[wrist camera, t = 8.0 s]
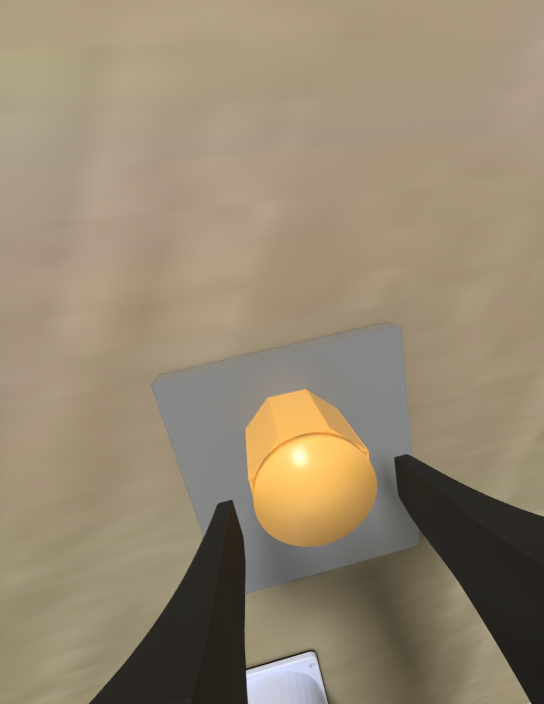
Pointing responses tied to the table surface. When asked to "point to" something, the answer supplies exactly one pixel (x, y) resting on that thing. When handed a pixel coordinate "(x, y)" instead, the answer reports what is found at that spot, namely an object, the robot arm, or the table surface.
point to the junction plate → (242, 405)
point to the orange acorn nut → (307, 470)
